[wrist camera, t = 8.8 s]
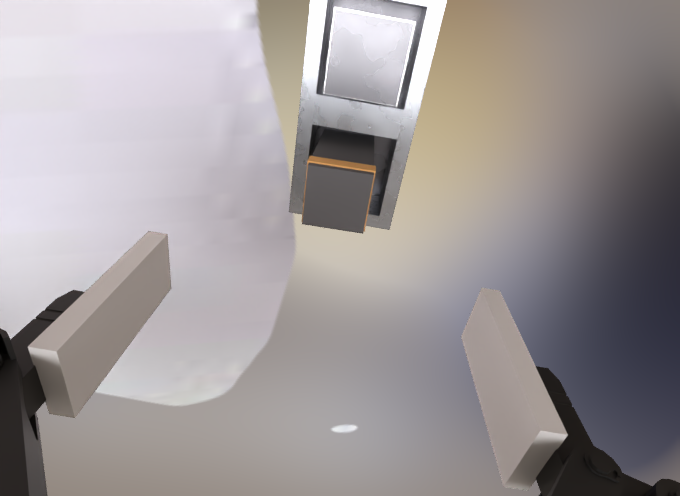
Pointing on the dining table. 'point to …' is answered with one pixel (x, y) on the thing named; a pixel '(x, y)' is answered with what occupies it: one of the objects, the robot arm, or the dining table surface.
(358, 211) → the plug
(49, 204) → the dining table surface
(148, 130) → the dining table surface
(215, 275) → the dining table surface
